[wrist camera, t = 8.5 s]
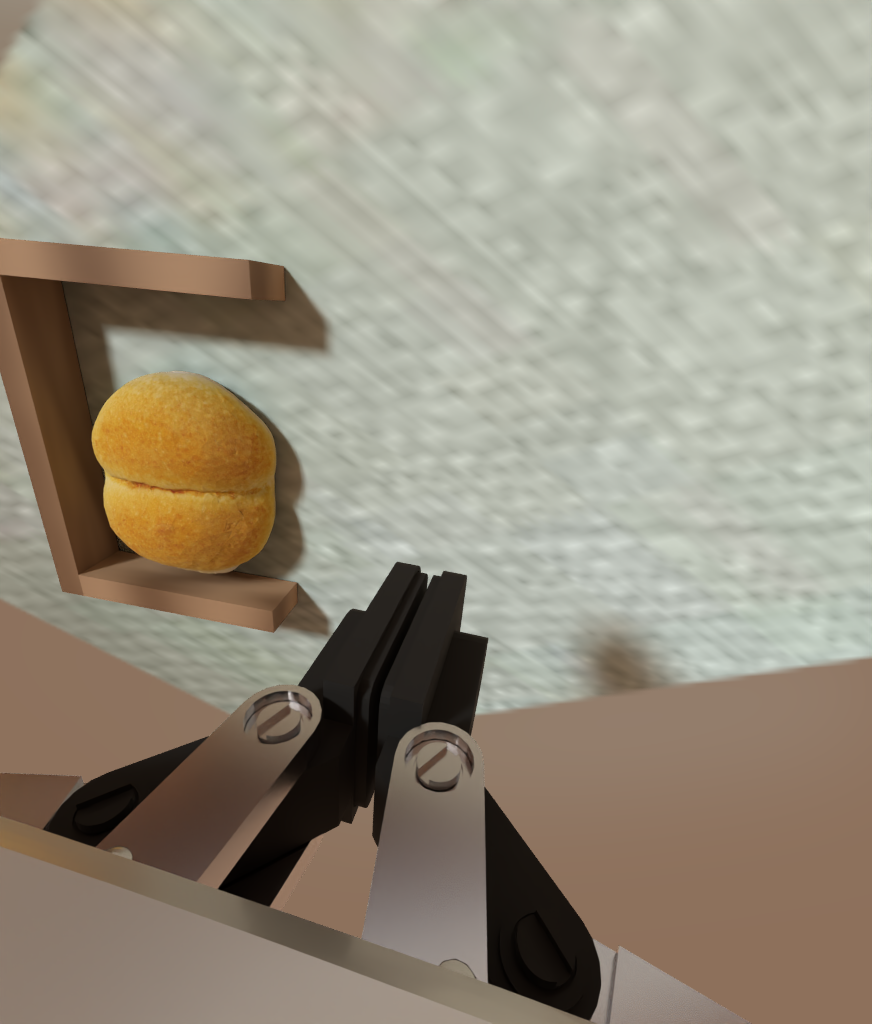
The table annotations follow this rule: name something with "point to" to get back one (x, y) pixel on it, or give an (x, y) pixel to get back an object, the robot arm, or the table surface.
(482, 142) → the table surface
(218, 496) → the bread roll
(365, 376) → the table surface
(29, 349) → the frame
